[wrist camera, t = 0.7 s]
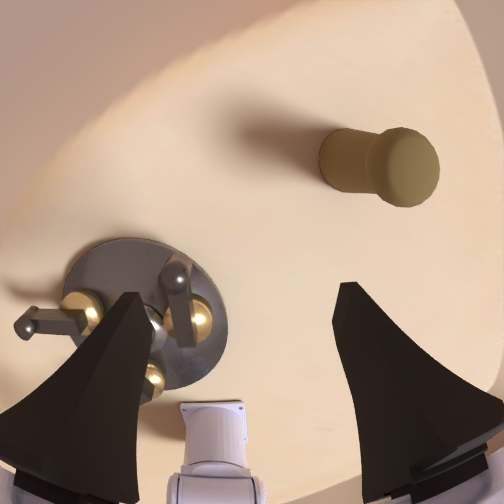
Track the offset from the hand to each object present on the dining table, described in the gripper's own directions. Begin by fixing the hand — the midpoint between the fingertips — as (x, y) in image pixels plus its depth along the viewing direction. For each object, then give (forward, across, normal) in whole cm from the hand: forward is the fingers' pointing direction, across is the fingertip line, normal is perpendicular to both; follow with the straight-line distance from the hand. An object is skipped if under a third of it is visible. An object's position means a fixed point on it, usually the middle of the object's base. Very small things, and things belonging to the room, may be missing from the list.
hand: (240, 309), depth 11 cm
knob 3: (+13, +5, +11) cm, 18 cm away
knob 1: (+12, +19, +12) cm, 25 cm away
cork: (+18, -10, +1) cm, 21 cm away
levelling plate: (+12, +11, +15) cm, 22 cm away
